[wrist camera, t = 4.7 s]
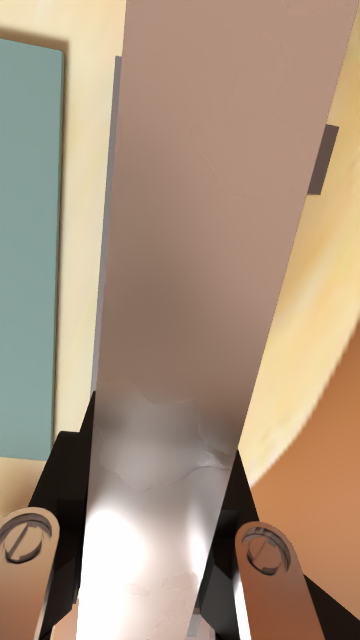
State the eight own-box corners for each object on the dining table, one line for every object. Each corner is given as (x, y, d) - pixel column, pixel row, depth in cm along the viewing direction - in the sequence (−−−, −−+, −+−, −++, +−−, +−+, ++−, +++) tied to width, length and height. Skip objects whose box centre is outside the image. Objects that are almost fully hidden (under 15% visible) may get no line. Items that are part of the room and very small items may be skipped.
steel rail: (163, -131, 5) (164, -500, 2) (309, -91, 5) (464, -386, 3) (82, 691, 14) (62, 820, 11) (141, 692, 14) (136, 818, 11)
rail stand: (119, 66, 19) (14, -234, 6) (256, 93, 20) (446, -116, 6) (88, 459, 28) (22, 687, 15) (182, 467, 29) (196, 691, 16)
